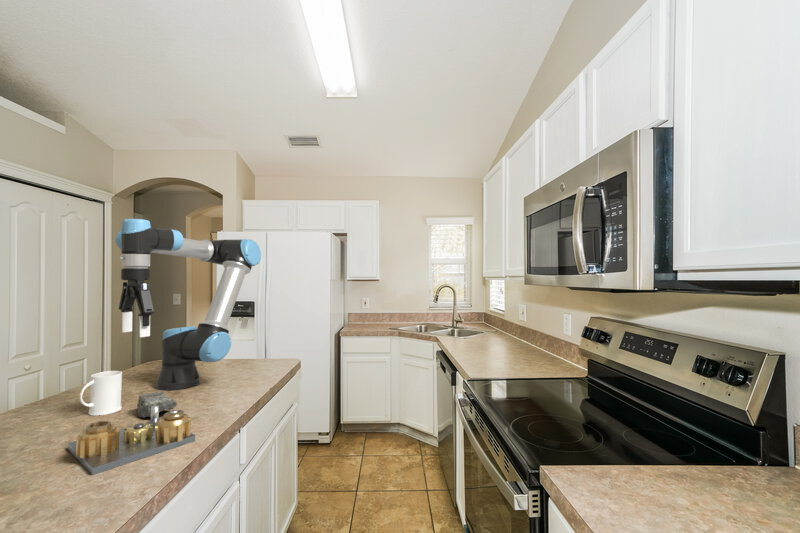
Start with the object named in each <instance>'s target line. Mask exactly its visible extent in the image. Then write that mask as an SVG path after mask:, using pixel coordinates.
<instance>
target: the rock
mask: <svg viewBox="0 0 800 533" xmlns="http://www.w3.org/2000/svg"><path fill="white" fill-rule="evenodd" d="M137 402H138V403H137V409H136V412H137V415H138V417H139V418H140V419H147V418H148V417H149V418H151V407H152V406H154V405H159V413H161V412H163V411H166V410H168V411H169V410H170V411H172V410H174V408H175V407H176V408H177V404H178V402H177V401H176V400H175V399H174V398H173V397H170V396H168V395H167V394H166V393H165V392H164V390H160V391H156V392H150V393H149V392H148V393H141V394H140V395H139V397H138V401H137ZM146 417H147V418H146Z"/></svg>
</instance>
